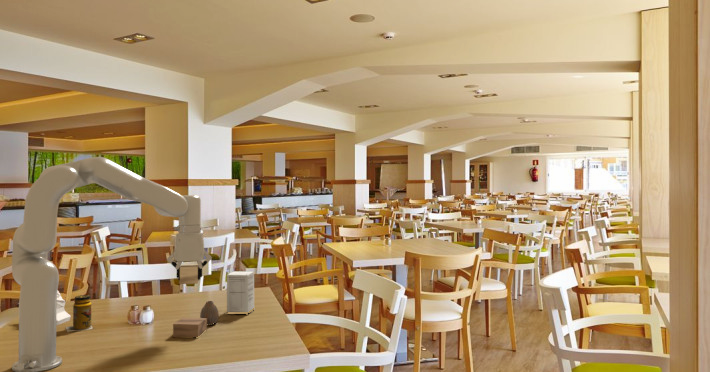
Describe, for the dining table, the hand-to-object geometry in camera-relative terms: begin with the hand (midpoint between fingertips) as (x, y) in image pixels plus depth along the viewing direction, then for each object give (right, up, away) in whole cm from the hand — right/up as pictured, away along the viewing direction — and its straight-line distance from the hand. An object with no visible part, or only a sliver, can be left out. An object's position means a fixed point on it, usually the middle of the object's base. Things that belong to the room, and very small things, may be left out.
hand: (189, 279), depth 188 cm
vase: (+3, -20, +15) cm, 25 cm away
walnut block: (0, -20, +1) cm, 20 cm away
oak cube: (0, -1, 0) cm, 1 cm away
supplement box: (+11, -20, +34) cm, 41 cm away
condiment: (-43, -20, +7) cm, 48 cm away
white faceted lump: (-60, -20, +16) cm, 65 cm away
